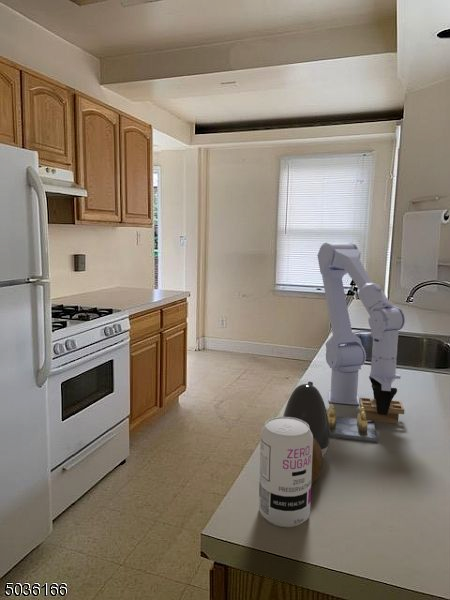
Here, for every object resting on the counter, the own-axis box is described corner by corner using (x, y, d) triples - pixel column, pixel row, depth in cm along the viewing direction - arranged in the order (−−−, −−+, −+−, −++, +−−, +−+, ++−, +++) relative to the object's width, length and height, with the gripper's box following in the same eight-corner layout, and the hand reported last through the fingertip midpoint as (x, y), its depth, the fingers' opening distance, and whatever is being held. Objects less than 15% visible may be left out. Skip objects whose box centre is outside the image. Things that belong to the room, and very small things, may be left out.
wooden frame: (359, 401, 112) (359, 397, 112) (400, 405, 110) (400, 401, 110) (360, 410, 107) (360, 405, 107) (404, 414, 104) (404, 409, 104)
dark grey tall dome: (332, 449, 93) (335, 380, 91) (326, 472, 83) (329, 395, 81) (285, 441, 96) (287, 374, 94) (274, 462, 87) (276, 389, 85)
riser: (362, 415, 111) (363, 404, 111) (396, 418, 109) (397, 407, 109) (363, 420, 108) (364, 408, 108) (398, 423, 106) (398, 411, 106)
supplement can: (276, 492, 76) (278, 411, 74) (318, 511, 71) (322, 424, 69) (248, 515, 70) (250, 426, 68) (293, 537, 65) (296, 442, 63)
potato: (261, 488, 78) (262, 442, 76) (289, 460, 88) (290, 419, 86) (305, 504, 73) (307, 455, 72) (330, 473, 83) (332, 429, 82)
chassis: (318, 418, 109) (319, 398, 108) (373, 424, 106) (374, 403, 105) (317, 435, 99) (318, 413, 98) (377, 442, 96) (378, 419, 95)
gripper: (406, 365, 99) (402, 422, 100) (397, 350, 113) (393, 400, 114) (373, 363, 100) (370, 419, 102) (368, 348, 114) (365, 398, 116)
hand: (380, 409), depth 108 cm, fingers closed on wooden frame, 6 cm apart
